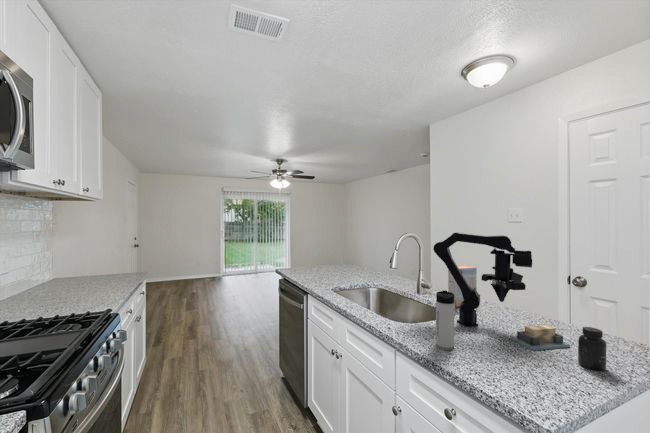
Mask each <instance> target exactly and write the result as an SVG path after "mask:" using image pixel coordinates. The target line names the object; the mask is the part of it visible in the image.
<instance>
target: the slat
mask: <svg viewBox="0 0 650 433" xmlns="http://www.w3.org/2000/svg"><path fill="white" fill-rule="evenodd" d="M524 331H525V335H527V336H530V337H532V338H534V337H538V338H540V343H542V342H554V336H555V333H556V328H555V327H553V326H550V325H548V324H543V325H542V324H541V325H540V324H539V325H525V326H524Z"/></svg>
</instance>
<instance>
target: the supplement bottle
mask: <svg viewBox="0 0 650 433" xmlns="http://www.w3.org/2000/svg"><path fill="white" fill-rule="evenodd" d="M603 333H604V332H603V330H602V329H599V328H595V327H591V326H584V327H583V326H582V334H581V335H578V339H577V340H578V341H577V342H578V344H577V346H578V347H577V362H578V364H579V365H580V366H582V367H584V368H586V369H587V370H590V371H591V370H592V371H597V372H605V370H606V369H607V348H608V346H607V345H608V344H607V342H606V341H605V340H604V339H603Z"/></svg>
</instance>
